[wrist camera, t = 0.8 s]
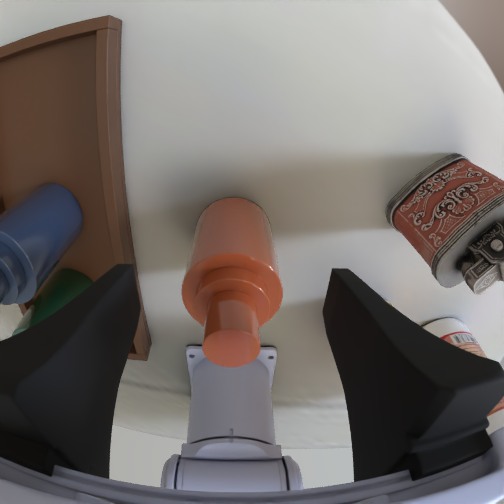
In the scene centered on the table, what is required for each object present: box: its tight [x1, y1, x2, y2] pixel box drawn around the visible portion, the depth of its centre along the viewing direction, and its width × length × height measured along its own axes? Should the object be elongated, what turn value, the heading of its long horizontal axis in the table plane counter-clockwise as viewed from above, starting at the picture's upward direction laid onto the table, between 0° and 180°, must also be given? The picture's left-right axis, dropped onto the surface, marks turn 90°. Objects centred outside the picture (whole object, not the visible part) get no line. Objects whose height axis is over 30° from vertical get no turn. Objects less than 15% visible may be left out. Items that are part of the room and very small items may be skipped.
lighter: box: [386, 153, 504, 295], centre depth 16 cm, size 8×3×10 cm, turn 130°
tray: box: [0, 15, 151, 361], centre depth 19 cm, size 26×12×2 cm, turn 177°
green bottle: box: [12, 268, 93, 336], centre depth 19 cm, size 5×5×10 cm
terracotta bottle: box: [182, 197, 283, 367], centre depth 17 cm, size 5×5×10 cm
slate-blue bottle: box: [0, 183, 83, 305], centre depth 15 cm, size 5×5×10 cm
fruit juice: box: [422, 318, 504, 504], centre depth 18 cm, size 9×9×28 cm
